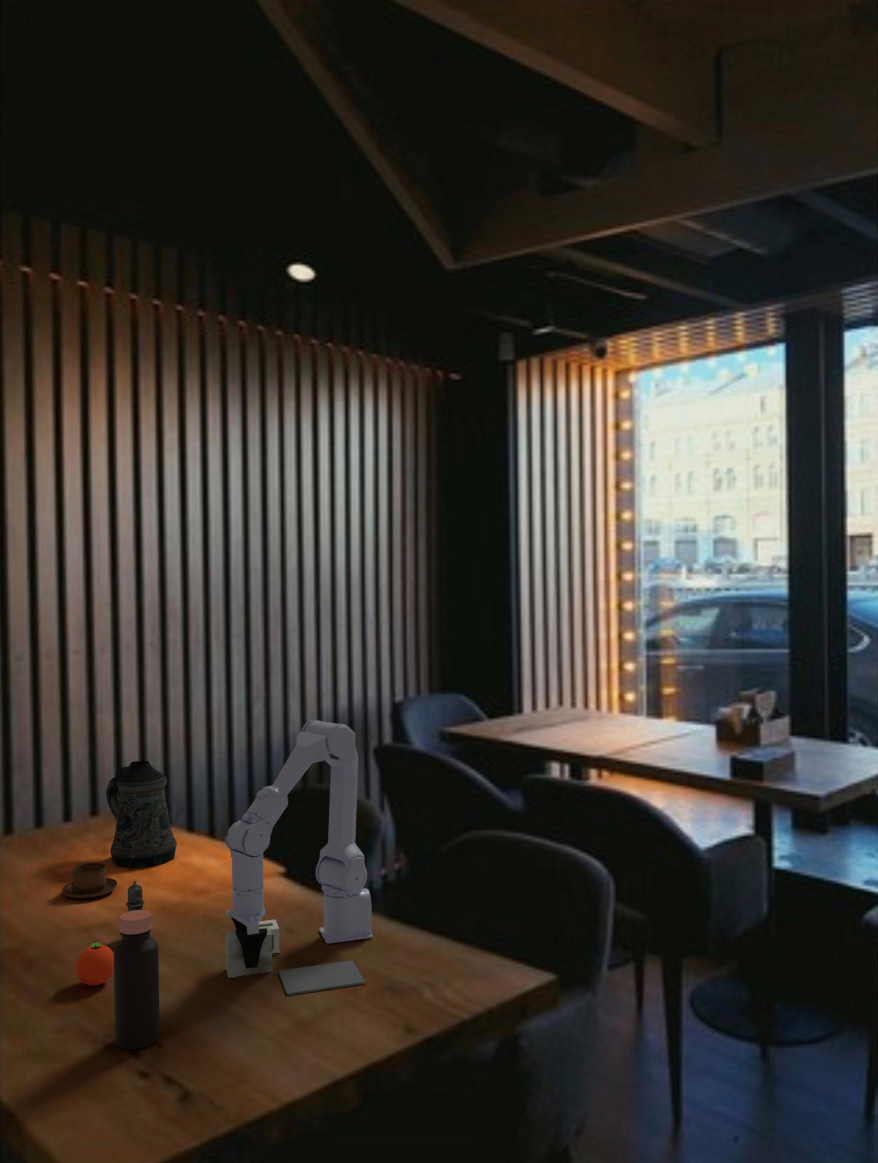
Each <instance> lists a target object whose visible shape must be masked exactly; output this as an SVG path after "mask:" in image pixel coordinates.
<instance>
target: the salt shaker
mask: <svg viewBox="0 0 878 1163" xmlns="http://www.w3.org/2000/svg"><path fill="white" fill-rule="evenodd" d="M137 883H138V882H137V881H136V880H133V882H132V884H131V885H130V886H129V887H128V888H127V902H126V903H125V906H126V907H127V912H129V911H134V910H144V904H145V900H143V887H142V885H139V884H137Z"/></svg>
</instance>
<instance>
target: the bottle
mask: <svg viewBox="0 0 878 1163" xmlns="http://www.w3.org/2000/svg"><path fill="white" fill-rule="evenodd" d="M118 917H119V919H118V921H119V922H118V925H119V934H120V937H121V939H120V941H119V942H118V943H117V944H116V945H115V947H114V949H113V953H114V973H113V989H114V991H113V992H114V994H113V995H114V1043H115V1044H116V1046H117V1047H119V1048H120V1049H123V1050H126V1051H135V1050H141V1049H145V1048H148V1047H150V1046H152V1045H154V1044H155V1043H157V1041H158V1040H159V1038H160V1032H161V1030H160V1026H161V1025H160V1021H161V1020H160V1016H161V1015H160V968H159V966H160V965H159V963H160V962H159V960H160V959H159V943H158V941H157V940H156V939H155V938H154V937H153V936H152V935H151V932H152V927H153V919H152V918H153V913H152V912H151V911H149V910H146V909H145V910H144V909H143V910H134V911H129V912H128V911H126V912H124V913H122V914H121V915H120V916H118Z"/></svg>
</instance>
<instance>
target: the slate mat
mask: <svg viewBox="0 0 878 1163" xmlns="http://www.w3.org/2000/svg"><path fill="white" fill-rule="evenodd" d="M278 975H279V978H280V980H281V983H282V985H283V988H284V991H285V993H286V996H293V995H300V994H308V993H312V992H320V991H329V990H335V989H339V988H347V987H354V986H355V987H356V986H361V985H365V984H366V981H365V979H364V978H363V975H362V973H361V972H360V970H359V968H358V967H357V965H356V963H355V962H354V960H344V961H338V962H331V963H330V962H329V963H325V964H317V965H310V966H303V967H301V966H300V967H296V968H287V969H280V970H278Z"/></svg>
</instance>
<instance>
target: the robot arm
mask: <svg viewBox="0 0 878 1163" xmlns="http://www.w3.org/2000/svg"><path fill="white" fill-rule="evenodd" d="M295 740H296V743H295V744H296V745H295V747H294V748H293V750H292V751H291V753H290V755H289V756H288V758H287V760H286V761H285V764H283V767H282V768H281V771H280V772H279V774H278V775H277V777H276V778H275V780H274V782H273V784H272V785H269V786H264V787H263V788H262V789H261V790H259V791H258V792H257V793H256V796H255V797H256V798H255V799H254V801H252V802H251V803H252V804H250V807H249V808H248V809H247V811H246V812H245V813H243V815H242V817H241V820H237V822H236V821H235V822H234V823H233V824H232V825H231V826H230V827H229V828H228V831H227V833H226V836H225V837H224V843H225V846H226V847H227V849H229V852H230V858H231V873H232V874H231V877H232V878H231V879H232V880H231V886H232V909H231V910H226V911H225V914H226V918H228V919H231V921H232V922H233V924H234V927H235V930H234V931H235V933H236V936H237V938H238V940H239V942H240V944H241V947H242V952H243V958H244V963H245V967H246V969H248V968H255V967H257V966H258V962H259V957H260V952H261V947H262V944H263V941H264V939H265V937H266V936H267V932H268V931H267V928H263V929H259V922H260V921H262V919H263V917H264V916H265V914H266V908H265V896H264V895H265V893H264V886H265V884H264V852H265V851H266V850H267V849H268V848H269V846H270V842H271V834H272V833H273V828H274V826H275V825H276V823H277V821H278V820H279V819H280V818H281V816H282V814H283V813H284V811H285V809H286V808H287V807H288V806H289V798H288V795H289V794H290V792H291V791H292V790H293V789H294V787H295V785H296V784H297V783H298V782H299V781H300V780H301V778H303V776H304V774H305V773H306V772H307V770H308V769H309V768H310V766H312V764H314V763H319V762H323V761H325V763H327V764H328V765H329V766H330V783H329V787H330V788H329V789H330V790H329V812H328V815H329V816H328V835H327V836H328V838H327V841H328V842H327V844H325V846H323V847H322V848H321V849H320V851H319V859H318V863H317V864H316V867H315V879H316V880H317V882H318V883H319V884H320V885H321V891H323V916H324V917H323V919H324V920H323V921H324V922H323V925H324V926H322V927H319V932H320V934H321V936H322V937H323V939H324V941H325V943H326V944H335V943H336V944H337V943H344V942H350V941H351V942H352V941H357V940H366V939H372V938H373V933H372V932H373V929H372V928H373V926H372V925H373V921H372V916H373V915H372V899H371V898H372V897H371V894H370V891H369V889H368V888H364V887H365V886H366V883H367V879H368V870H367V868H366V865H365V855H364V853H363V852H362V850H361V849H360V848H359V847H358V845H357V844H356V833H357V830H356V829H357V807H358V806H357V805H358V804H357V803H358V800H357V799H358V781H359V780H358V778H359V776H358V775H359V769H358V768H359V754H358V752H357V748H356V732H354V730H352V728H350V727H349V726H348V725H347V724H345V723H335V722H329V721H328V722H327V721H321V720H319V719H311V720H308V721H307V722H305V723H304V725H303V726H302V728H301V730H300V732H299V733H298V734H297V735H296V739H295Z"/></svg>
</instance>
